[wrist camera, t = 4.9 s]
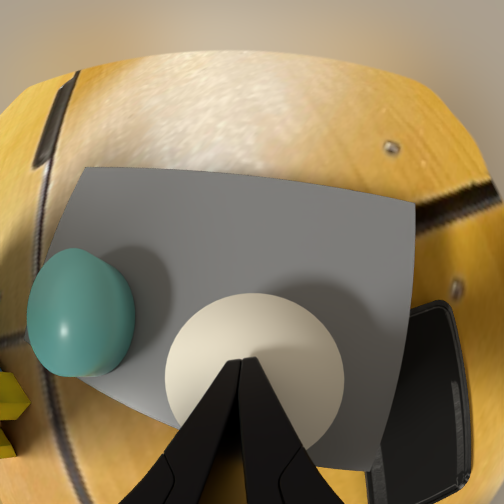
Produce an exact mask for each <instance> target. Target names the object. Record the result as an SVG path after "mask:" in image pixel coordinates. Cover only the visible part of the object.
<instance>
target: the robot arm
mask: <svg viewBox="0 0 504 504" xmlns="http://www.w3.org/2000/svg"><path fill="white" fill-rule="evenodd" d="M118 504H344V502H343V501H342V500H341V499H340V498H339V497H338V496H337V494H336V493H335V492H334V491H333V490H332V488H331V487H330V486H329V485H328V483H327V482H326V481H325V479H324V478H323V477H322V475H321V474H320V473H319V471H318V469H317V468H316V466H315V465H314V463H313V461H312V460H311V458H310V456H309V455H308V453H307V451H306V449H305V447H303V444H302V442H301V440H300V439H299V437H298V435H297V433H296V431H295V429H294V427H293V426H292V424H291V422H290V420H289V418H288V416H287V414H286V412H285V411H284V409H283V407H282V405H281V403H280V401H279V399H278V397H277V395H276V393H275V391H274V389H273V388H272V386H271V384H270V382H269V380H268V378H267V376H266V374H265V372H264V370H263V368H262V366H261V364H260V362H259V360H258V358H257V357H256V356H253V357H247V358H243V359H233V360H228V361H226V363H225V364H224V366H223V367H222V369H221V370H220V372H219V373H218V375H217V376H216V378H215V379H214V381H213V382H212V383H211V385H210V386H209V388H208V389H207V391H206V392H205V394H204V395H203V397H202V398H201V400H200V401H199V403H198V404H197V405H196V407H195V408H194V410H193V411H192V413H191V414H190V415H189V417H188V418H187V420H186V421H185V423H184V424H183V425H182V427H181V428H180V430H179V431H178V432H177V434H176V435H175V437H174V438H173V439H172V441H171V442H170V444H169V445H168V446H167V448H166V449H165V450H164V454H161V456H160V457H159V458H158V460H157V461H156V463H155V464H154V465H153V466H152V468H151V469H150V470H149V471H148V473H147V474H146V475H145V476H144V478H143V479H142V480H141V481H140V482H139V483H138V484H137V485H136V486H135V487H134V488H133V490H132V491H131V492H130V493H129V494H128V495H127V496H126V497H125V498H124V499H123V500H121V501H120V502H119V503H118Z"/></svg>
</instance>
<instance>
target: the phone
mask: <svg viewBox="0 0 504 504" xmlns="http://www.w3.org/2000/svg"><path fill="white" fill-rule="evenodd" d="M470 473H471V426H470V410H469V399H468V390H467V382H466V375H465V368H464V362H463V356H462V350H461V345H460V340H459V336H458V331H457V326H456V322H455V318H454V314H453V311H452V308H451V307H450V305H449V304H448V303H447V302H445V301H443V300H435V301H433V302H430V303H427V304H424V305H421V306H418V307H415V308H413V309H410V314H409V322H408V328H407V335H406V341H405V347H404V353H403V358H402V363H401V368H400V373H399V377H398V382H397V386H396V390H395V394H394V398H393V402H392V406H391V409H390V413H389V416H388V420H387V423H386V427H385V430H384V433H383V436H382V439H381V442H380V445H379V448H378V451H377V454H376V456H375V459H374V462H373V464H372V467H371V470H370V472H368V471H365V479H366V488H367V498H368V504H434V503H436V502H438V501H440V500H442V499H444V498H446V497H448V496H450V495H452V494H454V493H456V492H457V491H459V490H460V489H462V488H463V487H464V486H465V484H466V483H467V482H468V480H469V478H470Z"/></svg>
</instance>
